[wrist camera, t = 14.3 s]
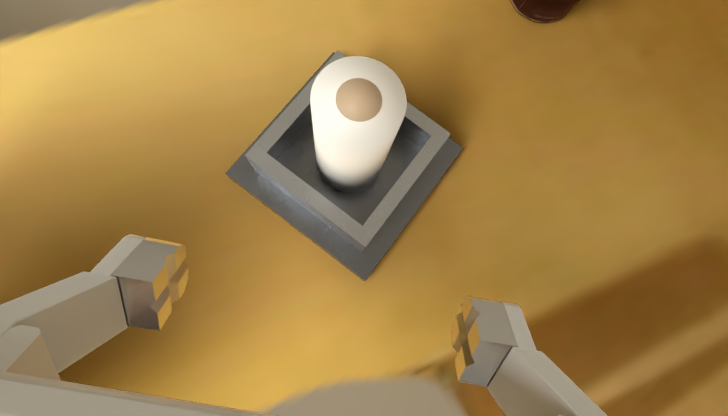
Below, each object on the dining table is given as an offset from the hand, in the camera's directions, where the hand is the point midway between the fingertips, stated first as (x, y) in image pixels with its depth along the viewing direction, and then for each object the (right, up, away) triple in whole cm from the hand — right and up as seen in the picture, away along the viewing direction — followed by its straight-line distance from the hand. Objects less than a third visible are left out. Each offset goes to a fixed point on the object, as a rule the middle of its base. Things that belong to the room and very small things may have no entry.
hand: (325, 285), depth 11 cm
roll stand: (0, +6, +20) cm, 20 cm away
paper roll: (0, +6, +18) cm, 19 cm away
